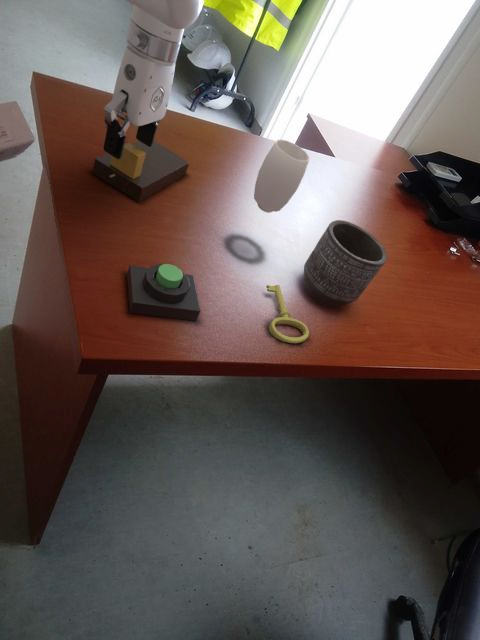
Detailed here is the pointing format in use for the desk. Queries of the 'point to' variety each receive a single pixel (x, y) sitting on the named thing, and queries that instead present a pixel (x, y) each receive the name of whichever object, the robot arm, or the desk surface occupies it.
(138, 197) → the plate
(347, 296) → the planter
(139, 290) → the button box
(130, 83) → the robot arm
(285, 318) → the key
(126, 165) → the block
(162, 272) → the button
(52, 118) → the desk surface
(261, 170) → the cup
